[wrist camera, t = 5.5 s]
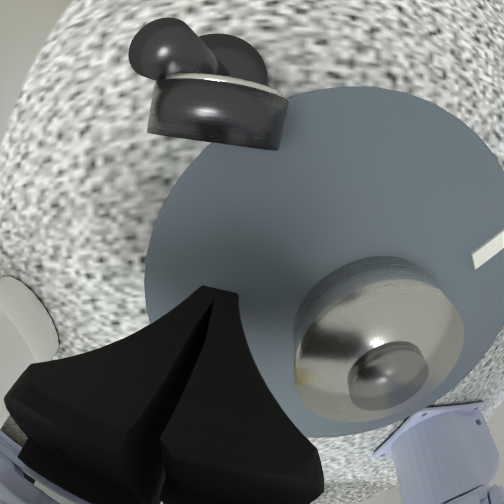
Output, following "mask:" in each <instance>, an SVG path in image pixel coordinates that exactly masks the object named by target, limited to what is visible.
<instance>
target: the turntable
mask: <svg viewBox="0 0 504 504" xmlns="http://www.w3.org/2000/svg"><path fill="white" fill-rule="evenodd" d="M286 100H288V101H289V105H288V110H287V115H286V120H285V124H284V129H283V134H282V138H281V143H280V148H279V151H271V150H263V149H255V148H248V147H241V146H234V145H227V144H220V143H213V142H212V143H211V144H210V145H209V146H207V147H206V148H205V149H204V151H203V152H202V153H201V154H200V155H199V156H198V157H197V158H196V159H195V160H194V161H193V163H192V164H191V165H190V166H189V167H188V168H187V169H186V171H185V172H184V173H183V174H182V176H181V177H180V179H179V180H178V182H177V183H176V185H175V186H174V188H173V190H172V191H171V193H170V194H169V196H168V197H167V199H166V201H165V203H164V205H163V207H162V210H161V212H160V214H159V217H158V219H157V221H156V224H155V226H154V228H153V232H152V236H151V240H150V244H149V248H148V252H147V256H146V267H145V279H144V285H145V298H146V307H147V312H148V316H149V320H150V324H151V323H153V322H154V321H156V320H157V319H159V318H160V317H162V316H163V315H165V314H166V313H168V312H169V311H170V310H172V309H173V308H174V307H176V306H177V305H178V304H180V303H181V302H182V301H183V300H185V299H186V298H187V297H188V296H190V295H191V294H192V293H193V292H194V291H195V290H197V289H198V288H199V287H200V286H202V285H204V286H208V287H213V288H217V289H221V290H226V291H230V292H235V293H237V294H238V295H239V311H240V317H241V322H242V326H243V330H244V334H245V337H246V340H247V343H248V346H249V349H250V351H251V354H252V356H253V359H254V361H255V363H256V365H257V368H258V370H259V372H260V374H261V376H262V377H263V379H264V381H265V383H266V385H267V386H268V388H269V390H270V391H271V393H272V394H273V396H274V397H275V399H276V400H277V402H278V403H279V405H280V406H281V408H282V409H283V411H284V412H285V413H286V414H287V416H288V417H289V418H290V420H291V421H292V422H293V423H294V425H295V426H296V427H297V428H298V429H299V430H300V431H301V433H302V434H303V435H304V436H305V437H311V438H323V437H338V436H346V435H353V434H358V433H362V432H367V431H371V430H375V429H378V428H381V427H384V426H387V425H390V424H393V423H395V422H397V421H400V420H402V419H404V418H407V417H409V416H411V415H413V414H415V413H417V412H418V411H420V410H422V409H424V408H426V407H427V406H429V405H430V404H432V403H433V402H435V401H436V400H438V399H439V398H441V397H442V396H443V395H445V394H446V393H447V392H449V391H450V390H451V389H452V388H454V387H455V386H456V385H457V384H458V383H459V382H460V381H461V380H462V379H463V378H464V377H465V376H467V375H468V374H469V373H470V371H471V370H472V369H473V368H474V367H475V366H476V365H477V363H478V362H479V361H480V360H481V359H482V358H483V356H484V355H485V353H486V352H487V351H488V349H489V348H490V346H491V345H492V343H493V342H494V340H495V339H496V337H497V335H498V333H499V332H500V330H501V328H502V326H503V324H504V171H503V169H502V167H501V165H500V164H499V162H498V160H497V158H496V157H495V156H494V154H493V153H492V152H491V150H490V149H489V148H488V147H487V145H486V144H485V143H484V142H483V140H482V139H481V138H480V137H479V136H478V135H477V134H476V133H475V132H474V131H472V130H471V129H470V128H469V127H468V126H467V125H466V124H465V123H463V122H462V121H461V120H460V119H458V118H457V117H455V116H454V115H452V114H450V113H449V112H447V111H446V110H444V109H442V108H441V107H439V106H437V105H435V104H433V103H431V102H428V101H426V100H423V99H421V98H418V97H415V96H413V95H410V94H407V93H403V92H398V91H393V90H388V89H382V88H377V87H336V88H329V89H323V90H317V91H312V92H306V93H302V94H299V95H296V96H293V97H291V98H288V99H286ZM375 256H393V257H399V258H402V259H405V260H408V261H410V262H412V263H414V264H416V265H417V266H419V267H420V268H421V269H423V270H424V271H425V273H426V274H427V275H428V276H429V277H430V278H431V279H432V280H433V282H434V283H435V284H436V285H437V286H438V288H439V289H440V290H441V291H442V292H443V294H444V295H445V296H446V297H447V298H448V300H449V301H450V302H451V303H452V305H453V306H454V307H455V308H456V310H457V311H458V312H459V314H460V316H461V318H462V322H463V325H464V342H463V346H462V350H461V353H460V355H459V358H458V360H457V362H456V364H455V366H454V367H453V369H452V370H451V372H450V373H449V375H448V376H447V377H446V378H445V380H444V381H443V382H442V383H441V384H440V385H439V386H438V387H437V388H436V389H435V390H434V391H433V392H431V393H430V394H429V395H428V396H426V397H425V398H424V399H422V400H421V401H419V402H418V403H416V404H414V405H413V406H411V407H409V408H407V409H405V410H403V411H401V412H398V413H396V414H393V415H390V416H387V417H384V418H380V419H376V420H371V421H363V422H342V421H336V420H331V419H328V418H324V417H322V416H320V415H317V414H316V413H314V412H312V411H311V410H309V409H308V408H307V407H306V406H305V405H304V404H303V403H302V401H301V400H300V398H299V397H298V395H297V392H296V388H295V379H294V345H293V327H294V321H295V317H296V314H297V311H298V309H299V307H300V305H301V303H302V301H303V300H304V298H305V297H306V296H307V294H308V293H309V292H310V290H311V289H312V288H313V287H314V286H315V285H316V284H317V283H318V282H319V281H321V280H322V279H323V278H324V277H325V276H327V275H328V274H330V273H331V272H333V271H334V270H336V269H338V268H340V267H342V266H344V265H346V264H348V263H350V262H353V261H356V260H359V259H363V258H367V257H375Z"/></svg>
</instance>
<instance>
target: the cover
mask: <svg viewBox="0 0 504 504" xmlns="http://www.w3.org/2000/svg"><path fill="white" fill-rule="evenodd" d="M463 342H464V325H463V322H462V318H461V316H460V314H459V312H458V311H457V310H456V308H455V307H454V306H453V305H452V303H451V302H450V301H449V300H448V298H447V297H446V296H445V295H444V294H443V292H442V291H441V290H440V289H439V288H438V286H437V285H436V284H435V283H434V282H433V280H432V279H431V278H430V277H429V276H428V275H427V274H426V273H425V271H424V270H423V269H421V268H420V267H419V266H417V265H416V264H414V263H412V262H410V261H408V260H405V259H402V258H399V257H393V256H375V257H367V258H363V259H359V260H356V261H353V262H350V263H348V264H346V265H344V266H342V267H340V268H338V269H336V270H334V271H333V272H331V273H330V274H328V275H327V276H325V277H324V278H323V279H322V280H321V281H319V282H318V283H317V284H316V285H315V286H314V287H313V288H312V289H311V290H310V292H309V293H308V294H307V296H306V297H305V298H304V300H303V301H302V303H301V305H300V307H299V309H298V311H297V314H296V317H295V321H294V327H293V345H294V379H295V388H296V392H297V395H298V397H299V398H300V400H301V401H302V403H303V404H304V405H305V406H306V407H307V408H308V409H309V410H311V411H312V412H314V413H316V414H317V415H320V416H322V417H324V418H328V419H331V420H336V421H342V422H363V421H371V420H376V419H380V418H384V417H387V416H390V415H393V414H396V413H398V412H401V411H403V410H405V409H407V408H409V407H411V406H413V405H414V404H416V403H418V402H419V401H421V400H422V399H424V398H425V397H426V396H428V395H429V394H430V393H431V392H433V391H434V390H435V389H436V388H437V387H438V386H439V385H440V384H441V383H442V382H443V381H444V380H445V378H446V377H447V376H448V375H449V373H450V372H451V370H452V369H453V367H454V366H455V364H456V362H457V360H458V358H459V355H460V353H461V350H462V346H463Z"/></svg>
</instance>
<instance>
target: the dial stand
mask: <svg viewBox="0 0 504 504" xmlns="http://www.w3.org/2000/svg"><path fill="white" fill-rule="evenodd" d="M129 62H130V64H131V67H132V68H133V69H134V71H135V72H137V73H138V74H140V75H141V76H144V77H147V78H150V79H153V80H155V81H156V82H155V87H154V92H153V98H152V103H151V109H150V115H149V121H148V128H147V132H148V133H151V134H157V135H163V136H170V137H177V138H184V139H192V140H199V141H206V142H213V143H220V144H227V145H234V146H241V147H248V148H255V149H263V150H271V151H279V148H280V143H281V138H282V134H283V129H284V124H285V120H286V115H287V110H288V105H289V101H288V100H286V99H285V98H283V97H282V94H281V93H280V92H278V91H277V90H275V89H273V88H270V87H268V76H267V71H266V67H265V64H264V62H263V60H262V58H261V56H260V55H259V53H258V52H257V51H256V50H255V48H254V47H253V46H251V45H250V44H249V43H247V42H246V41H244V40H242V39H240V38H238V37H235V36H232V35H227V34H208V35H203V36H200V37H198V36H197V35H196V34H195V33H194V32H193V31H192V30H191V28H190V27H189V26H188V25H187V24H186V23H184V22H183V21H181V20H179V19H176V18H161V19H157V20H154V21H152V22H150V23H148V24H147V25H145V26H144V27H143V28H142V29H141V30H140V31H139V32H138V33H137V34H136V35H135V37H134V38H133V40H132V42H131V45H130V48H129Z"/></svg>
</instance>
